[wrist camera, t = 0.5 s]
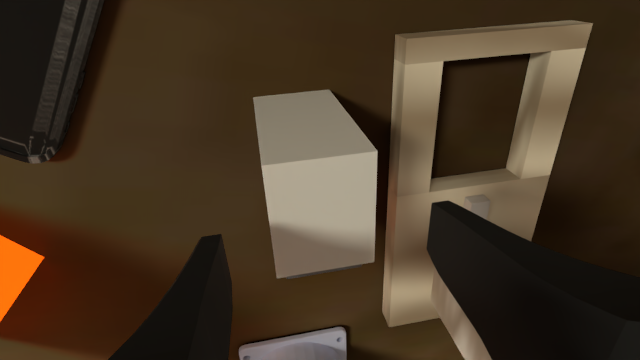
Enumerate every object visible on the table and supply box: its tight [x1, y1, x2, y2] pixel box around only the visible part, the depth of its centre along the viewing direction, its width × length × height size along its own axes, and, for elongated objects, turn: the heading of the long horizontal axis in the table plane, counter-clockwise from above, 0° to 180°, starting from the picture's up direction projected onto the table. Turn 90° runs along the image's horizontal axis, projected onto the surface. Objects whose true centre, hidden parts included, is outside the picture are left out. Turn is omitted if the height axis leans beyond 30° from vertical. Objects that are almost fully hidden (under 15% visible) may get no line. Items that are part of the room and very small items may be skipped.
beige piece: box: [382, 20, 593, 360], centre depth 21 cm, size 20×10×10 cm, turn 3°
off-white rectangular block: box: [253, 90, 378, 279], centre depth 18 cm, size 6×4×8 cm
